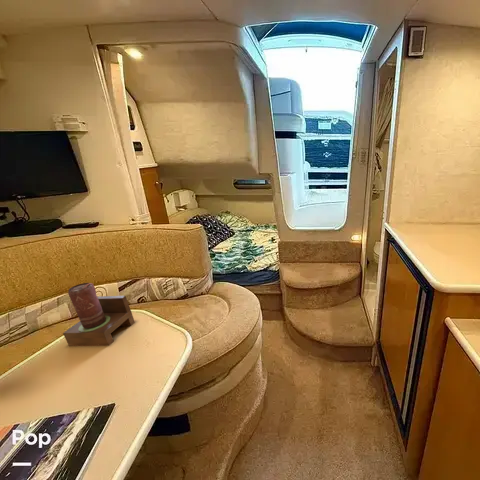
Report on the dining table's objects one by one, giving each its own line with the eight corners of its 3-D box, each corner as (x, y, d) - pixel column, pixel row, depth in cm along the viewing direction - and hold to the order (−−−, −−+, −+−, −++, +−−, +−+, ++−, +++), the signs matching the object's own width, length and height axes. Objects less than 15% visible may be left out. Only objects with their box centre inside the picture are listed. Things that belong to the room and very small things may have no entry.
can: (110, 320, 91) (96, 283, 86) (88, 331, 85) (72, 293, 81) (101, 315, 93) (87, 280, 89) (79, 326, 88) (63, 289, 83)
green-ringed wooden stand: (69, 348, 88) (55, 317, 84) (100, 324, 99) (88, 296, 95) (109, 347, 87) (97, 316, 83) (135, 324, 98) (125, 295, 94)
